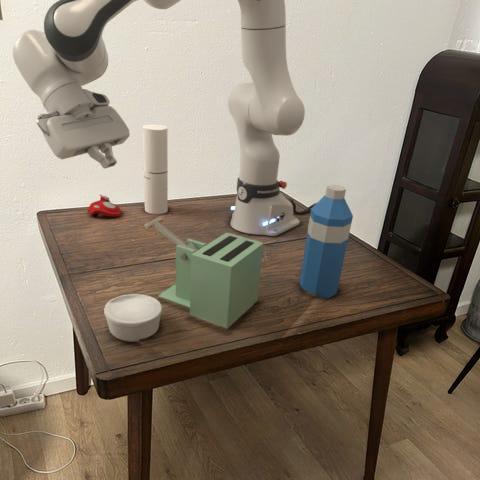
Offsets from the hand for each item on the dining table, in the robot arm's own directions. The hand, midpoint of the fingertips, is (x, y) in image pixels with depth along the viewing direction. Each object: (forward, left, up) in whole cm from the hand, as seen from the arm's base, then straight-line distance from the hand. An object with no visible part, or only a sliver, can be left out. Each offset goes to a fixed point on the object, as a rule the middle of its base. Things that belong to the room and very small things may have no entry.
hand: (111, 165), depth 105 cm
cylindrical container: (-31, -31, -26) cm, 51 cm away
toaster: (-10, +28, -26) cm, 39 cm away
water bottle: (-35, +33, -26) cm, 55 cm away
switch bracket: (-7, +19, -26) cm, 33 cm away
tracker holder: (-17, -37, -26) cm, 48 cm away
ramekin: (+10, +23, -26) cm, 36 cm away
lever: (-5, +15, -13) cm, 21 cm away
